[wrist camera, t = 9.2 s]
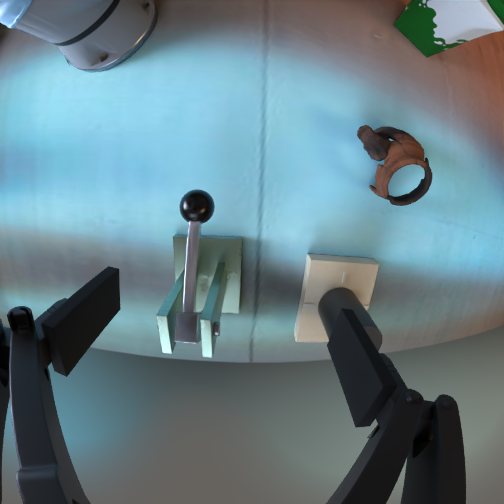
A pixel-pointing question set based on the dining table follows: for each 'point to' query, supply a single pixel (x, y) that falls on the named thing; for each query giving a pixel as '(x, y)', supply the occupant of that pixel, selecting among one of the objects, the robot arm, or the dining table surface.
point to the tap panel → (325, 279)
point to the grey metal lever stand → (204, 288)
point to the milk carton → (449, 22)
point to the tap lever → (192, 263)
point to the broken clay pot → (394, 160)
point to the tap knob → (347, 300)
